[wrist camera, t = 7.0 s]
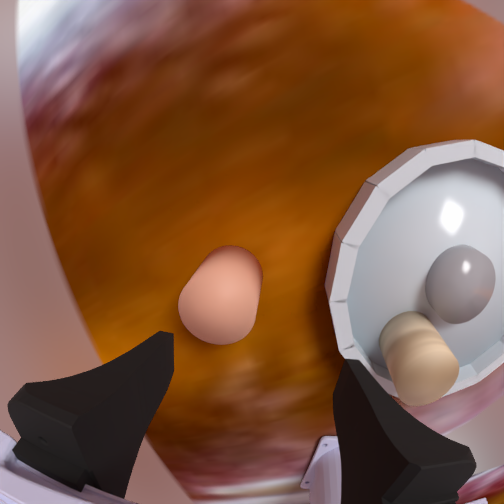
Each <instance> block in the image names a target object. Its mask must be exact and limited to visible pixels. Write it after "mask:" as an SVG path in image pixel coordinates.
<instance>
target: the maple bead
mask: <svg viewBox="0 0 504 504" xmlns="http://www.w3.org/2000/svg"><path fill="white" fill-rule="evenodd" d="M379 347H380V350H381V352H382V355H383V357H384V360H385V363H386V365H387V368H388V370H389V373H390V375H391V378H392V381H393V383H394V386H395V389H396V391H397V394H398V397H399V399H400V400H401V401H402V402H403V403H404V404H406V405H409V406H423V405H427V404H430V403H432V402H434V401H436V400H438V399H439V398H441V397H442V396H444V395H445V394H446V393H447V392H448V391H449V390H450V389H451V388H452V386H453V385H454V383H455V382H456V380H457V378H458V375H459V363H458V361H457V359H456V357H455V356H454V355H453V353H452V352H451V350H450V349H449V347H448V346H447V344H446V343H445V341H444V340H443V339H442V337H441V336H440V334H439V333H438V331H437V330H436V329H435V327H434V326H433V324H432V323H431V322H430V320H429V319H428V318H427V316H425V315H424V314H423V313H421V312H417V311H407V312H403V313H400V314H398V315H396V316H395V317H393V318H392V319H391V320H389V321H388V322H387V324H386V325H385V326H384V327H383V329H382V331H381V333H380V337H379Z"/></svg>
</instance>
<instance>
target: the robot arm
mask: <svg viewBox="0 0 504 504" xmlns="http://www.w3.org/2000/svg"><path fill="white" fill-rule="evenodd" d="M173 372H174V336H173V333H168V332H163V331H159V332H157V333H156V334H154V335H153V336H151V337H150V338H148V339H147V340H145V341H144V342H142V343H141V344H139V345H138V346H136V347H135V348H133V349H131V350H130V351H128V352H126V353H125V354H123V355H121V356H119V357H118V358H116V359H114V360H112V361H110V362H108V363H106V364H104V365H102V366H99V367H97V368H95V369H92V370H90V371H86V372H83V373H80V374H77V375H74V376H70V377H66V378H62V379H57V380H51V381H43V382H33V383H26V384H25V385H24V386H23V387H22V388H21V389H20V390H19V391H18V392H17V393H16V394H15V395H14V397H13V398H12V399H11V400H10V401H9V403H8V412H9V414H10V417H11V419H12V421H13V423H14V425H15V427H16V429H17V431H18V432H19V434H20V436H21V439H20V440H19V441H18V442H16V441H15V440H14V439H13V438H12V437H11V436H9V435H8V434H6V433H5V432H3V431H1V430H0V504H138V503H134V502H131V501H128V500H125V499H124V497H125V494H126V490H127V486H128V483H129V479H130V476H131V473H132V469H133V466H134V463H135V460H136V457H137V454H138V451H139V448H140V446H141V443H142V440H143V437H144V435H145V432H146V430H147V428H148V426H149V424H150V422H151V420H152V418H153V416H154V414H155V413H156V411H157V409H158V407H159V405H160V403H161V401H162V399H163V397H164V395H165V393H166V391H167V389H168V387H169V384H170V381H171V378H172V375H173ZM333 414H334V420H335V426H336V432H337V436H324V437H322V438H321V439H320V441H319V444H318V446H317V449H316V451H315V453H314V456H313V458H312V460H311V462H310V465H309V467H308V469H307V471H306V474H305V476H304V478H303V480H302V482H301V488H303V489H309V491H310V504H456V503H455V501H457V500H458V499H459V496H458V493H457V491H458V490H459V489H460V488H461V487H462V486H463V485H464V484H465V483H466V482H467V481H468V479H469V478H470V477H471V476H472V475H473V473H474V471H475V469H476V462H475V459H474V457H473V455H472V453H471V450H470V449H469V447H467V446H465V445H462V444H460V443H457V442H455V441H452V440H450V439H448V438H446V437H444V436H442V435H440V434H439V433H437V432H435V431H433V430H432V429H430V428H429V427H427V426H426V425H424V424H423V423H421V422H420V421H418V420H417V419H416V418H414V417H413V416H412V415H411V414H409V413H408V412H407V411H406V410H404V409H403V408H402V407H401V406H400V405H399V404H398V403H397V402H396V401H395V400H394V399H393V398H392V397H391V396H390V395H389V394H388V393H387V392H386V391H385V390H384V389H383V387H382V386H381V385H380V384H379V383H378V382H377V381H376V379H375V378H374V377H373V376H372V375H371V373H370V372H369V371H368V370H367V368H366V367H365V366H364V365H363V364H362V363H361V361H360V360H357V359H345V361H344V364H343V367H342V370H341V373H340V376H339V378H338V381H337V384H336V387H335V390H334V392H333ZM465 504H488V503H487V501H486V498H482V499H478V500H475V501H472V502H468V503H465Z"/></svg>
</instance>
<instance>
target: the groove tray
mask: <svg viewBox="0 0 504 504" xmlns="http://www.w3.org/2000/svg"><path fill="white" fill-rule="evenodd" d="M335 231H336V232H335V233H334V238H333V244H332V249H331V255H330V260H329V265H328V271H327V276H326V281H325V289H326V293H327V298H328V303H329V307H330V312H331V317H332V322H333V327H334V331H335V336H336V340H337V344H338V349H339V352H340V353H341V354H342V356H343V357H344V358H345V359H357V360H360V361H361V363H362V364H363V365H364V366H365V367H366V368H367V370H368V371H369V372H370V373H371V375H372V376H373V377H374V378H375V379H376V381H377V382H378V383H379V384H380V385H381V386H382V387H383V389H384V390H385V391H386V392H387V393H388V394H390V395H393V396H395V397H398V394H397V391H396V389H395V386H394V383H393V381H392V378H391V375H390V373H389V370H388V368H387V365H386V363H385V360H384V357H383V355H382V352H381V350H380V347H379V337H380V333H381V331H382V329H383V327H384V326H385V325H386V324H387V322H388V321H389V320H391V319H392V318H393V317H395V316H396V315H398V314H400V313H403V312H407V311H417V312H421V313H423V314H424V315H425V316H427V318H428V319H429V320H430V322H431V323H432V324H433V326H434V327H435V329H436V330H437V331H438V333H439V334H440V336H441V337H442V339H443V340H444V341H445V343H446V344H447V346H448V347H449V349H450V350H451V352H452V353H453V355H454V356H455V357H456V359H457V361H458V363H459V375H458V378H457V380H456V382H455V383H454V385H453V386H452V388H451V389H450V390H449V391H448V392H447V393H446V394H445V395H444V396H446V395H448V394H451V393H454V392H456V391H459V390H461V389H464V388H466V387H469V386H471V385H473V384H476V383H478V382H479V381H481V380H482V379H483V378H485V377H486V376H487V375H489V374H490V373H491V372H492V371H494V370H495V369H496V368H497V367H499V366H500V365H501V364H502V363H504V151H503V150H500V149H498V148H495V147H493V146H490V145H487V144H485V143H482V142H479V141H477V140H451V141H445V142H440V143H434V144H429V145H424V146H419V147H413V148H409V149H407V150H406V151H405V152H403V153H402V154H401V155H399V156H398V157H397V158H395V159H394V160H393V161H391V162H390V163H389V164H387V165H386V166H385V167H383V168H382V169H381V170H379V171H378V172H377V173H375V174H374V175H373V176H371V177H370V178H369V179H367V180H366V182H364V184H363V185H362V187H361V189H360V191H359V192H358V194H357V196H356V197H355V199H354V201H353V202H352V204H351V205H350V207H349V209H348V210H347V212H346V214H345V215H344V217H343V219H342V220H341V222H340V223H339V225H338V227H337V228H336V230H335ZM442 397H443V396H442ZM398 398H399V397H398Z"/></svg>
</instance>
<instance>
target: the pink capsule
mask: <svg viewBox="0 0 504 504" xmlns="http://www.w3.org/2000/svg"><path fill="white" fill-rule="evenodd" d="M262 279H263V273H262V268H261V266H260V263H259V261H258V260H257V259H256V257H255V256H254V255H253V254H252V253H250V252H249V251H248V250H246V249H244V248H241V247H238V246H222V247H219V248H217V249H215V250H213V251H212V252H211V253H210V254H209V255H208V256H207V257H206V258H205V260H204V261H203V262H202V264H201V265H200V267H199V268H198V269H197V271H196V272H195V273H194V275H193V276H192V278H191V279H190V280H189V282H188V283H187V285H186V286H185V287H184V289H183V291H182V292H181V294H180V297H179V302H178V309H179V315H180V317H181V320H182V322H183V324H184V325H185V327H186V328H187V329H188V330H189V331H190V332H191V333H192V334H193V335H194V336H196V337H197V338H199V339H201V340H203V341H205V342H208V343H212V344H219V345H224V344H230V343H234V342H237V341H239V340H241V339H242V338H244V337H245V336H246V335H247V334H248V333H249V332H250V330H251V329H252V327H253V325H254V322H255V317H256V312H257V307H258V301H259V296H260V290H261V285H262Z"/></svg>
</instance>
